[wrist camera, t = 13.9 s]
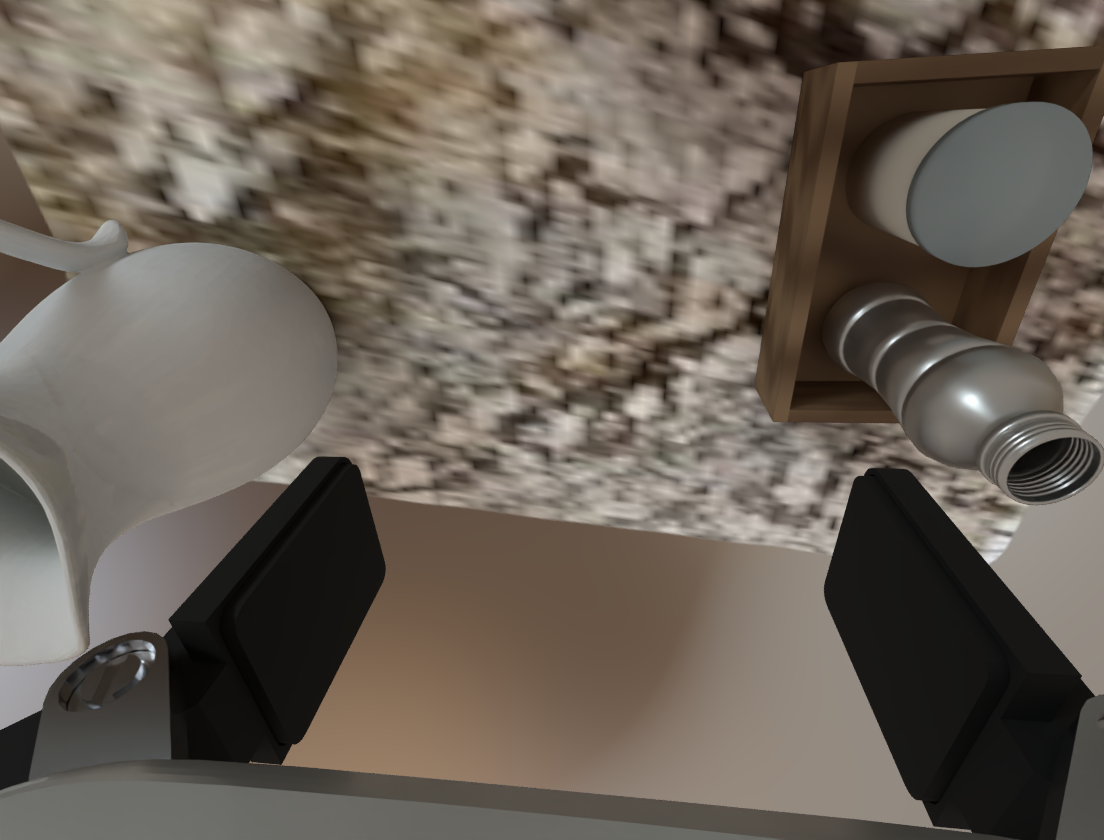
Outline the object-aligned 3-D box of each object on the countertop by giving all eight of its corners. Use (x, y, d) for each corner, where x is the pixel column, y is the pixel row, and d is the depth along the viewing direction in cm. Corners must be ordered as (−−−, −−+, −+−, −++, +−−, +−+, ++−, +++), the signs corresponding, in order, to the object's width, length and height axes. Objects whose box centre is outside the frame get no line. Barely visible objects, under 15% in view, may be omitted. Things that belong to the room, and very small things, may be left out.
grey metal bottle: (794, 322, 40) (930, 474, 23) (875, 253, 37) (1102, 368, 20) (847, 375, 42) (1012, 555, 24) (929, 313, 39) (1182, 468, 21)
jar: (856, 110, 33) (943, 106, 24) (984, 103, 32) (1122, 97, 23) (831, 233, 37) (899, 268, 28) (946, 230, 36) (1053, 265, 27)
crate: (803, 71, 33) (837, 62, 28) (1047, 56, 32) (1132, 43, 26) (754, 386, 44) (773, 421, 39) (935, 387, 42) (979, 424, 37)
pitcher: (397, 394, 48) (176, 667, 24) (242, 424, 52) (-85, 688, 28) (269, 98, 37) (-366, 54, 13) (84, 162, 41) (-680, 219, 17)
